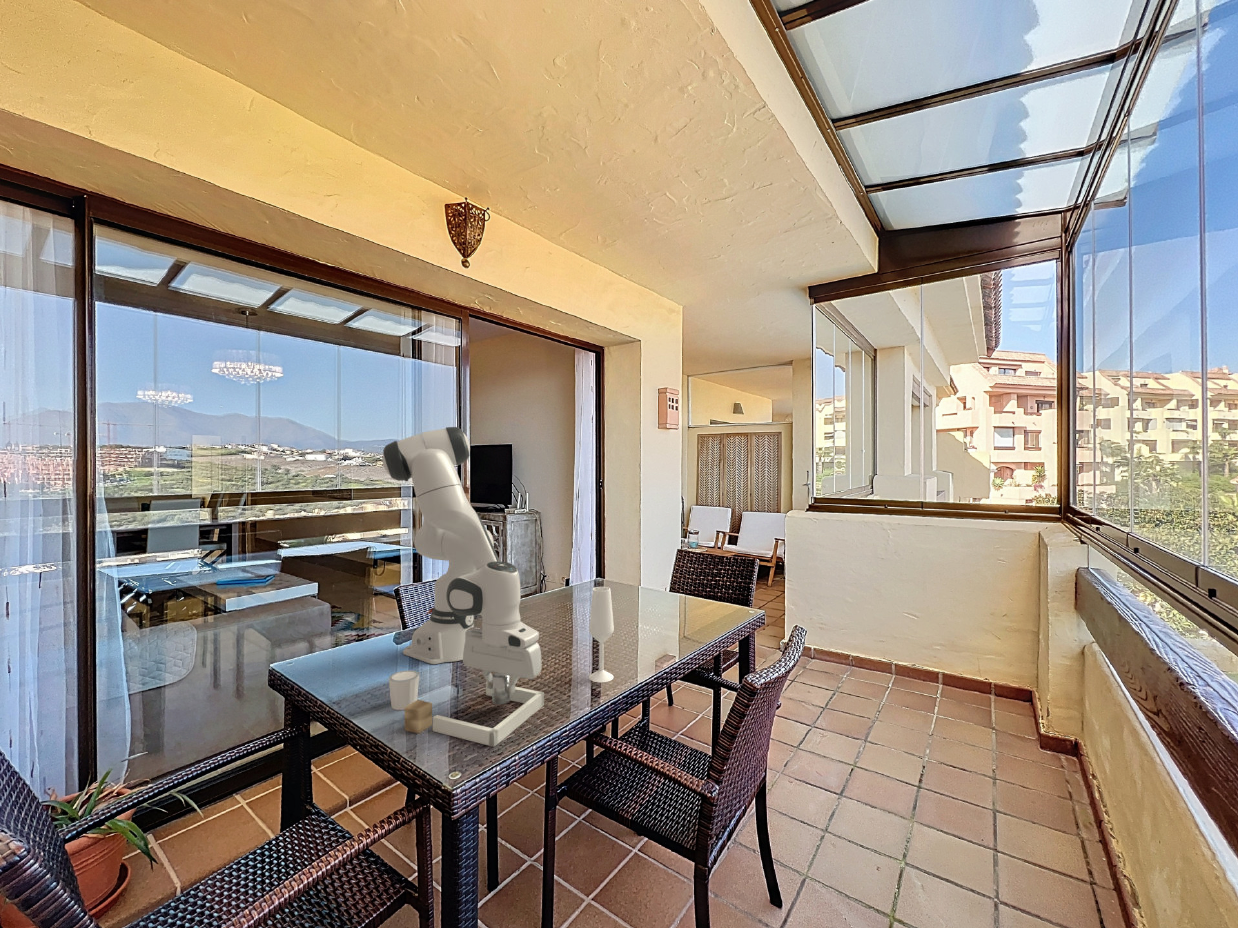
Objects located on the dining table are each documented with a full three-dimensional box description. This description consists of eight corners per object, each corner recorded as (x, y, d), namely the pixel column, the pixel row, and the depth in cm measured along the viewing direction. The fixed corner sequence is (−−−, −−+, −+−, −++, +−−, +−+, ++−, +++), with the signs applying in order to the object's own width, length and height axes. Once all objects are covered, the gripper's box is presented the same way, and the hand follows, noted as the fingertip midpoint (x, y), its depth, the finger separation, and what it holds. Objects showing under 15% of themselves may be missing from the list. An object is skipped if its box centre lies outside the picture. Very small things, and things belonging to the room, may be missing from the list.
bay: (432, 731, 115) (432, 717, 115) (488, 693, 134) (488, 681, 134) (494, 746, 109) (494, 732, 109) (544, 704, 128) (544, 692, 128)
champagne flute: (597, 684, 139) (598, 593, 139) (584, 675, 145) (584, 588, 144) (618, 678, 143) (619, 589, 143) (604, 670, 149) (604, 584, 148)
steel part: (488, 702, 124) (488, 677, 124) (499, 695, 128) (499, 670, 128) (503, 705, 123) (503, 679, 123) (513, 698, 127) (513, 673, 126)
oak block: (404, 730, 116) (404, 707, 116) (418, 721, 120) (418, 699, 120) (418, 733, 114) (418, 710, 114) (432, 725, 118) (432, 703, 118)
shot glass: (384, 704, 128) (384, 675, 128) (412, 695, 133) (412, 667, 132) (395, 714, 123) (395, 684, 123) (424, 704, 128) (424, 675, 128)
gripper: (457, 629, 126) (456, 687, 127) (530, 642, 118) (530, 703, 118) (474, 622, 132) (473, 677, 132) (545, 633, 124) (544, 692, 124)
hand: (501, 690), depth 125 cm, fingers closed on steel part, 4 cm apart
